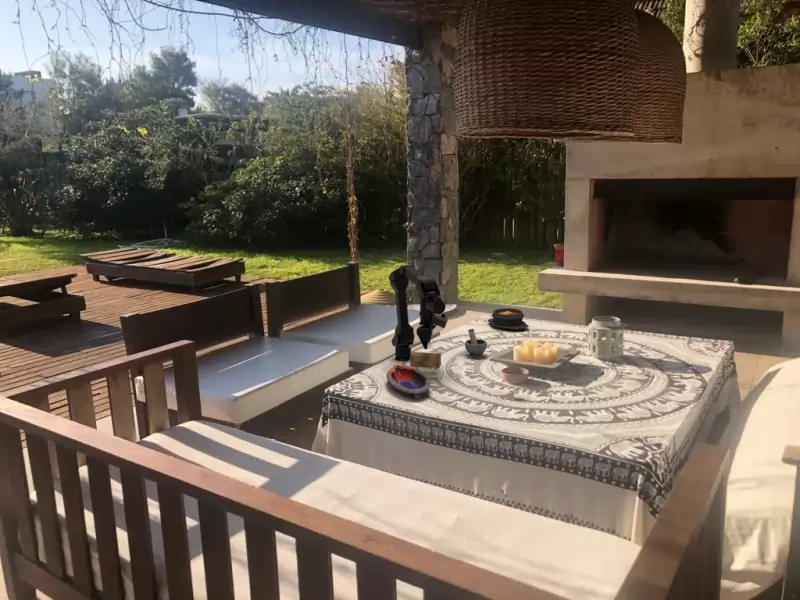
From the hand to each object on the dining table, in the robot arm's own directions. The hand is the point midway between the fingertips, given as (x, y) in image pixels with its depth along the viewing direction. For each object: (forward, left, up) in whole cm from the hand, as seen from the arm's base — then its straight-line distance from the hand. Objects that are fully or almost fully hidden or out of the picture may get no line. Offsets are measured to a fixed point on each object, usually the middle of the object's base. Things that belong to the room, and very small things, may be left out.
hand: (427, 345), depth 267 cm
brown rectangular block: (0, -2, -8) cm, 8 cm away
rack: (0, -2, -12) cm, 12 cm away
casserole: (+33, +78, -12) cm, 85 cm away
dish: (-5, -18, -12) cm, 23 cm away
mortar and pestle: (+19, +25, -12) cm, 33 cm away
